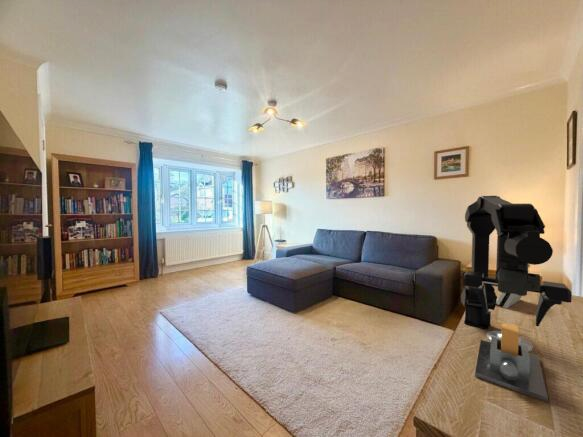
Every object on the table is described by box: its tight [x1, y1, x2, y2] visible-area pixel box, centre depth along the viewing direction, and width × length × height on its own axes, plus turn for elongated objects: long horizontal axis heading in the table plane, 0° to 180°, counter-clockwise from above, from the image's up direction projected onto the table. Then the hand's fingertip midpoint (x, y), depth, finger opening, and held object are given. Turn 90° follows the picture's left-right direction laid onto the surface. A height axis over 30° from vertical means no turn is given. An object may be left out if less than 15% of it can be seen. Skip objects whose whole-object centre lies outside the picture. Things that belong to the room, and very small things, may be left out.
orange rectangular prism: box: [501, 322, 520, 355], centre depth 60 cm, size 3×4×10 cm
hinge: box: [496, 292, 523, 309], centre depth 103 cm, size 17×5×10 cm, turn 124°
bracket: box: [474, 330, 549, 403], centre depth 62 cm, size 12×20×6 cm, turn 139°
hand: (510, 319), depth 60 cm, fingers open, 9 cm apart
